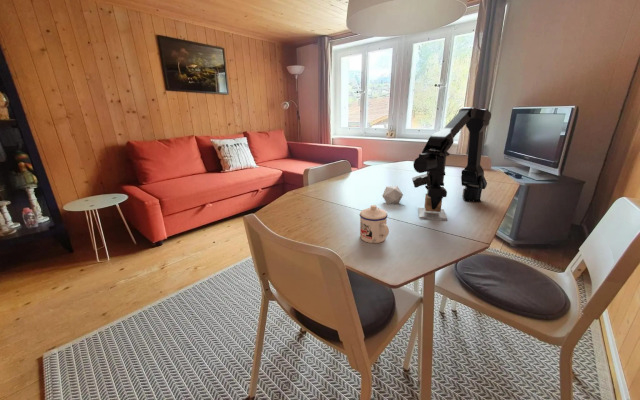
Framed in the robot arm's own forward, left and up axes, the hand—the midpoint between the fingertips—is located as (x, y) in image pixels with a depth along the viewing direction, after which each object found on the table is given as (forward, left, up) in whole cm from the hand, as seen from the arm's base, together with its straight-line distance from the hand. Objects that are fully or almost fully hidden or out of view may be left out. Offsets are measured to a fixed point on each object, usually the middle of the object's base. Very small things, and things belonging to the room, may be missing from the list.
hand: (432, 206), depth 104 cm
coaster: (0, 0, -3) cm, 3 cm away
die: (+16, -11, -4) cm, 20 cm away
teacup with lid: (+20, +26, -4) cm, 33 cm away
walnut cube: (0, 0, -1) cm, 1 cm away
